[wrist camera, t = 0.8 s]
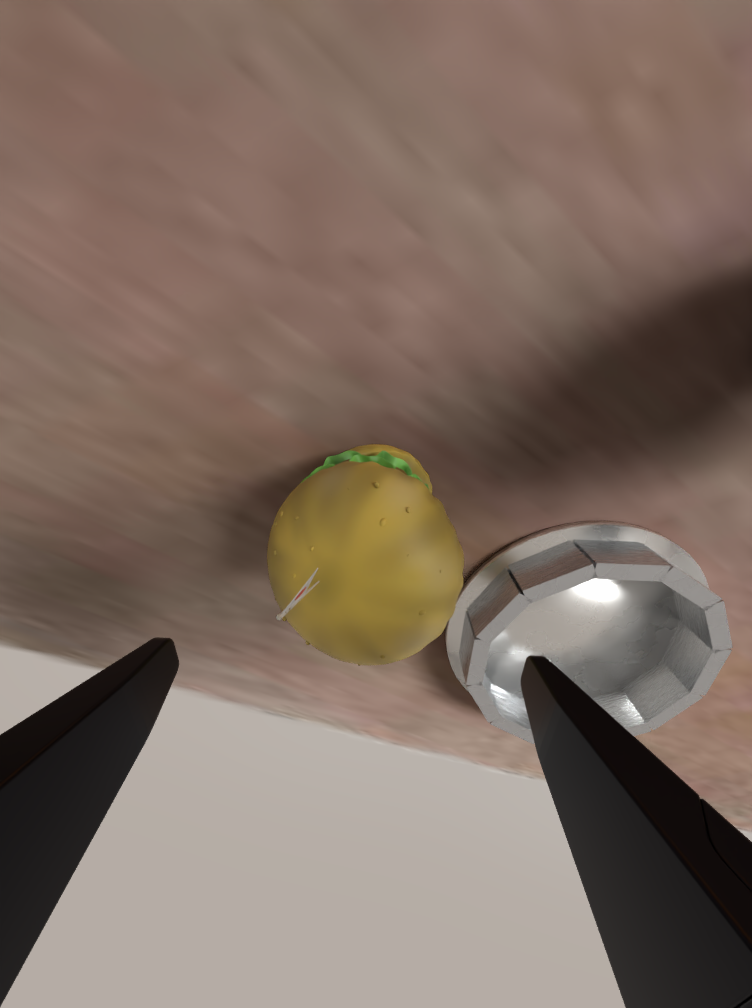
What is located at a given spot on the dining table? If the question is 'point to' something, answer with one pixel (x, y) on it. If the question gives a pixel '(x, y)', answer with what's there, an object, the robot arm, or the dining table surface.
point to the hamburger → (365, 557)
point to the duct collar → (590, 624)
